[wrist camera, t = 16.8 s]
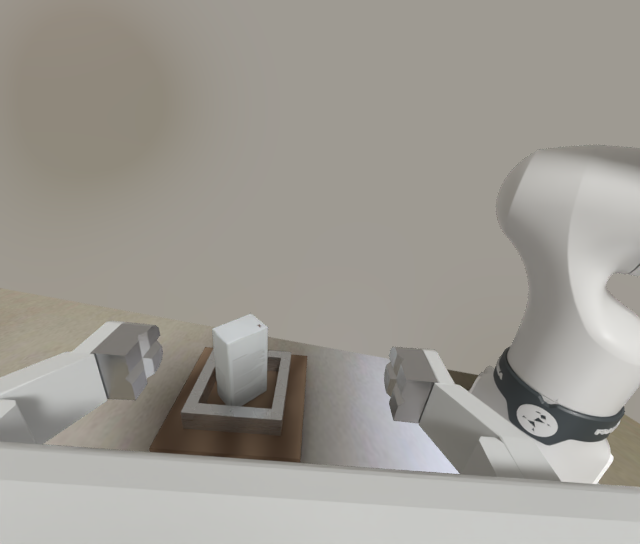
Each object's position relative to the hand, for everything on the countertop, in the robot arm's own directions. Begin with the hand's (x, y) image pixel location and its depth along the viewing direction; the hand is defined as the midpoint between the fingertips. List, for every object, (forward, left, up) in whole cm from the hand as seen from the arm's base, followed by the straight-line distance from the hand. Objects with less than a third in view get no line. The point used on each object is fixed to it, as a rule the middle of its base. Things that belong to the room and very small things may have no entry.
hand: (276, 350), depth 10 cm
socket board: (-10, -21, -30) cm, 38 cm away
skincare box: (-10, -21, -29) cm, 37 cm away
